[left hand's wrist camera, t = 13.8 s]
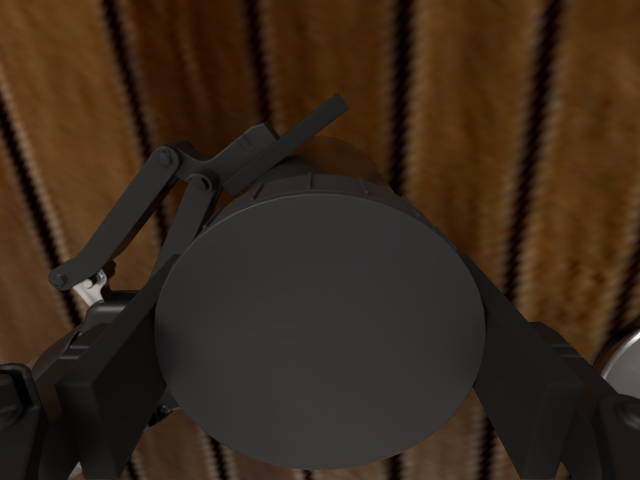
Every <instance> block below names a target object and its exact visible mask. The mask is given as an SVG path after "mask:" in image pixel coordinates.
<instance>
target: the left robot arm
mask: <svg viewBox="0 0 640 480" xmlns="http://www.w3.org/2000/svg"><path fill="white" fill-rule="evenodd" d="M180 255H181V254H173V255H172V256H171V257H170V258H169V260H168V261H167V262H166V263H165V264H164V265H163V266H162V267H161V268H160V269H159V270H158V272H157V273H156V274H155V275H154V276H153V277H152V278H151V279H150V280H149V281H148V283H147V284H146V285H145V286H144V287H143V288H142V289H141V290H140V291H139V292H138V293H137V295H136V296H135V297H134V298H133V299H132V300H131V301H130V302H129V303H128V304H127V305H126V307H125V308H124V309H123V310H122V311H121V312H120V313H119V314H118V315H117V316H116V317H115V319H114V320H113V321H112V322H111V323H99V324H98V325H96V326H94V327H93V328H91V329H89V330H88V331H86V332H84V333H83V334H81V335H80V336H79V337H78V339H77V340H76V341H75V342H74V343H73V344H72V345H71V346H70V348H69V349H67V350H66V351H65V352H64V353H63V354H62V355H61V356H60V358H59V359H57V360H56V361H55V362H54V363H53V364H52V365H51V366H50V367H49V368H48V369H47V370H46V371H45V372H44V373H43V374H42V375H41V376H40V377H39V378H38V379H37V380H36V381H35V382H34V379H33V376H32V373H31V370H30V368H29V367H27V366H26V365H24V364H19V363H8V364H2V365H0V480H69V479H68V478H69V476H70V475H71V473H72V472H73V470H74V469H75V467H76V465H77V464H78V462H80V465H81V468H82V471H83V474H84V477H85V479H119V477H120V476H121V474H122V472H123V470H124V468H125V466H126V464H127V462H128V460H129V458H130V456H131V454H132V453H133V451H134V449H135V447H136V445H137V443H138V441H139V439H140V437H141V435H142V433H143V432H144V430H145V428H146V426H147V424H148V422H149V420H150V418H151V416H152V414H153V412H154V410H155V409H156V407H157V405H158V403H159V401H160V399H161V397H162V395H163V393H164V391H165V389H166V387H167V385H166V383H165V381H164V379H163V376H162V374H161V371H160V367H159V363H158V358H157V353H156V348H155V342H154V319H155V311H156V305H157V302H158V299H159V295H160V292H161V289H162V287H163V285H164V283H165V280H166V278H167V276H168V274H169V272H170V270H171V269H172V264H173V263H174V262H175V261H176V259H177V258H178V257H179V256H180ZM458 255H459V256H460V258H461V259H462V261H463V262H464V264H465V265H466V267H467V268H468V270H469V271H470V273H471V275H472V277H473V279H474V281H475V283H476V286H477V288H478V290H479V293H480V297H481V300H482V304H483V307H484V314H485V322H486V339H485V346H484V351H483V356H482V361H481V366H480V370H479V373H478V375H477V378H476V381H475V382H474V384H473V388H474V390H475V392H476V394H477V396H478V398H479V400H480V402H481V404H482V405H483V407H484V409H485V411H486V413H487V415H488V417H489V419H490V421H491V423H492V425H493V426H494V428H495V430H496V432H497V434H498V436H499V438H500V440H501V442H502V444H503V446H504V448H505V449H506V451H507V453H508V455H509V457H510V459H511V461H512V463H513V465H514V467H515V469H516V471H517V472H518V474H519V476H520V478H521V479H555V476H556V473H557V470H558V467H559V464H560V461H562V463H563V464H564V466H565V467H566V469H567V470H568V472H569V473H570V475H571V476H572V479H571V480H640V317H639V318H637V319H636V320H634V321H633V322H631V323H630V324H629V325H627V326H626V327H625V328H624V329H623V330H621V331H620V332H619V333H618V334H617V335H616V336H615V337H614V338H613V339H612V340H611V341H610V342H609V343H608V344H607V346H606V347H605V348H604V349H603V351H602V352H601V354H600V355H599V357H598V358H597V360H596V362H595V364H594V366H593V367H592V366H591V365H590V364H589V363H588V362H587V361H586V360H585V359H584V358H581V357H580V354H579V353H578V352H577V351H576V350H575V349H574V348H573V347H570V344H569V343H568V342H567V341H566V340H565V339H564V338H563V337H562V336H561V335H560V334H559V333H558V332H556V331H554V330H553V329H551V328H549V327H548V326H546V325H544V324H543V323H541V322H528V321H527V320H526V319H525V318H524V317H523V316H522V315H521V314H520V312H519V311H518V310H517V309H516V308H515V307H514V306H513V305H512V304H511V303H510V302H509V300H508V299H507V298H506V297H505V296H504V295H503V294H502V293H501V292H500V291H499V290H498V288H497V287H496V286H495V285H494V284H493V283H492V282H491V281H490V280H489V279H488V277H487V276H486V275H485V274H484V273H483V272H482V271H481V270H480V269H479V268H478V267H477V265H476V264H475V263H474V262H473V261H472V260H471V259H470V258H469V257H468V256H467V255H466V254H458Z"/></svg>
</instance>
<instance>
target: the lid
mask: <svg viewBox="0 0 640 480" xmlns="http://www.w3.org/2000/svg"><path fill="white" fill-rule="evenodd" d="M457 251H458V249H457V248H456V247H455V246H454V245H453V243H452V242H451V241H450V240H449V239H448V238H447V237H446V236H445V234H444V233H443V232H442V231H441V230H440V229H439V228H438V227H436V228H435V227H434V226H433V225H432V224H431V223H430V222H429V221H428V219H427V218H426V217H425V216H424V215H423V214H422V213H421V212H420V211H419V210H417V209H416V208H415V207H414V206H413V205H412V204H411V203H410V201H409V200H408V199H407V198H406V197H405V196H403V197H402V198H401V197H400V196H398V195H396V194H395V193H393V192H391V191H390V190H387V189H385V188H383V187H380V186H378V185H376V184H373V183H371V182H367V181H364V180H363V179H362V177H358V179H356V178H353V177H347V176H339V175H332V174H312V172H308V175H301V176H293V177H287V178H284V179H280V180H276V181H272V182H269V183H267V184H263V183H260V184H259V185H258V187H257V188H254V189H252V190H250V191H249V192H247V193H245V194H243V195H242V196H240V197H238V198H237V199H235V200H234V201H232V202H231V203H230V204H228V205H227V206H226V207H225V208H222V207H220V208H219V209H218V210H217V211H216V213H215V214H214V215H213V216H212V217H211V218H210V219H209V220H208V222H207V223H206V224H205V225H204V226H203V230H202V231H201V232H200V234H199V235H198V236H197V237H196V238H195V239H194V240H193V241H192V242H191V243H190V244H189V246H188V247H187V248H186V249H185V250H184V251H183V253H182V254H181V255H180V256H179V257H178V258H177V259H176V261H175V262H174V263H173V264H172V269H171V270H170V272H169V274H168V276H167V278H166V280H165V283H164V285H163V287H162V289H161V292H160V295H159V299H158V302H157V305H156V311H155V319H154V342H155V348H156V353H157V358H158V363H159V367H160V371H161V374H162V376H163V379H164V381H165V383H166V385H167V387H168V389H169V391H170V393H171V394H172V396H173V397H174V399H175V400H176V402H177V403H178V404H179V406H180V407H181V409H182V410H183V411H184V412H185V413H186V414H187V415H188V416H189V417H190V419H191V420H192V421H193V422H194V423H195V424H196V425H198V426H199V427H200V428H201V429H202V430H204V431H205V432H206V433H207V434H208V435H210V436H211V437H213V438H214V439H216V440H217V441H219V442H220V443H222V444H223V445H225V446H227V447H229V448H231V449H233V450H235V451H237V452H238V453H241V454H243V455H246V456H248V457H251V458H253V459H256V460H259V461H262V462H266V463H269V464H273V465H278V466H283V467H288V468H295V469H305V470H334V469H345V468H352V467H357V466H362V465H367V464H370V463H374V462H377V461H381V460H384V459H386V458H389V457H391V456H394V455H397V454H399V453H401V452H403V451H405V450H407V449H409V448H411V447H413V446H415V445H416V444H418V443H419V442H421V441H422V440H424V439H425V438H427V437H428V436H430V435H431V434H433V433H434V432H435V431H436V430H437V429H439V428H440V427H441V426H442V425H443V424H444V423H445V422H446V421H447V420H448V419H449V418H450V417H451V416H452V415H453V414H454V413H455V412H456V411H457V409H458V408H459V407H460V405H461V404H462V403H463V401H464V400H465V398H466V397H467V396H468V394H469V392H470V390H471V388H472V386H473V384H474V382H475V381H476V378H477V375H478V373H479V370H480V366H481V361H482V356H483V351H484V346H485V339H486V322H485V314H484V307H483V304H482V300H481V297H480V293H479V290H478V288H477V286H476V283H475V281H474V279H473V277H472V275H471V273H470V271H469V270H468V268H467V267H466V265H465V264H464V262H463V261H462V259H461V258H460V256H459V255H458V254H457V253H456V252H457Z"/></svg>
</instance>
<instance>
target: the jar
mask: <svg viewBox="0 0 640 480" xmlns="http://www.w3.org/2000/svg"><path fill="white" fill-rule="evenodd" d="M308 172H312V174H332V175H339V176H347V177H353V178H356V179H358V177H362V179H363V180H364V181H367V182H371V183H373V184H376V185H378V186H380V187H383V188H385V189H387V190H390V191H391V192H393V190H392V189H391V188H390V186H389V185H388V184H387V183H386V181H385V180H384V179H383V177H382V176H381V175H380V173H379V172H378V171H377V169H376V168H375V167H374V165H373V164H372V163H371V161H370V160H369V159H368V158H367V157H366V156H365V155H364V154H363V153H362V152H361V151H360V150H358V149H357V148H355V147H354V146H353V145H351V144H349V143H347V142H344V141H341V140H338V139H335V138H330V137H311V138H310V139H309V140H307V141H306V142H305V143H303V144H302V145H301V146H300V147H298V148H297V149H296V150H294V151H293V152H292V153H290V154H289V155H288V156H287V157H285V158H284V159H283V160H281V161H280V162H279V163H277V164H276V165H275V166H274V167H272V168H271V169H270V170H268V171H267V172H266V173H265V174H263V175H262V176H261V177H259V178H258V179H257V180H255V181H254V183H253V184H252V185H251V186H250V188H249V189H248V190H247V192H249V191H250V190H252V189H254V188H257V187H258V185H259V184H260V183H263V184H267V183H269V182H272V181H276V180H280V179H284V178H287V177H293V176H301V175H308ZM247 192H246V193H247ZM393 193H394V192H393Z"/></svg>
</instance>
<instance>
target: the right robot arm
mask: <svg viewBox="0 0 640 480" xmlns="http://www.w3.org/2000/svg"><path fill="white" fill-rule="evenodd" d="M348 109H349V108H348V107H347V105H346V104H345V102H344V101H343V99H342V98H341V96H340V95H339V93H336V94H335V95H333V96H332V97H331V98H330V99H328V100H327V101H326V102H324V103H323V104H322V105H321V106H319V107H318V108H317V109H316V110H314V111H313V112H312V113H310V114H309V115H308V116H307V117H305V118H304V119H303V120H302V121H300V122H299V123H298V124H297V125H295V126H294V127H293V128H291V129H290V130H289V131H288V132H286V133H285V134H284V135H283V136H281V137H279V135H278V134H277V133H276V132H275V130H274V129H273V128H272V126H271V125H270V124H269V122H268V121H267V122H263V123H259V124H256V125H254V126H252V127H251V128H250V129H248V130H247V131H246V132H245V133H243V134H242V135H241V136H240V137H239V138H237V139H236V140H235V141H234V142H232V143H231V144H230V145H229V146H227V147H226V148H225V149H224V150H223V151H221V152H220V153H219V154H218V155H216V156H206V155H204V154H202V153H200V152H199V151H197V150H196V149H194V147H193V146H192V144H191V143H189V142H188V141H184V140H180V141H176V142H173V143H170V144H167V145H164V146H161V147H158V148H157V149H155V150H154V151H153V153H152V154H151V156H150V157H149V158H148V160H147V161H146V163H145V164H144V165H143V167H142V168H141V170H140V171H139V172H138V174H137V175H136V176H135V178H134V179H133V181H132V182H131V183H130V185H129V186H128V188H127V189H126V190H125V192H124V193H123V194H122V196H121V197H120V199H119V200H118V201H117V203H116V204H115V206H114V207H113V208H112V210H111V211H110V212H109V214H108V215H107V217H106V218H105V219H104V221H103V222H102V224H101V225H100V226H99V228H98V229H97V231H96V232H95V233H94V235H93V236H92V237H91V239H90V240H89V242H88V243H87V244H86V246H85V247H84V249H83V250H82V251H81V252H80V253H78V254H77V255H75V256H74V257H72V258H71V259H69V260H68V261H66V262H65V263H63V264H62V265H60V266H59V267H57V268H55V269H54V270H52V271H51V272H50V273H49V276H48V278H49V282H50V283H51V285H52V286H53V287H55V288H56V289H59V290H68V289H70V288H72V287H73V289H74V290H75V291H76V292H77V293H78V294H79V295H80V297H81V298H82V299H83V300H84V301H85V302H86V303H87V305H88V306H89V309H88V310H87V313H86V316H85V320H84V322H82V323H81V324H80V325H78V326H77V327H76V328H74V329H73V330H72V331H70V332H69V333H68V334H66V335H65V336H64V337H63V338H61V339H60V340H59V341H57V342H56V343H55V344H53V345H52V346H51V347H49V348H48V349H47V350H46V351H45V352H44V353H43V354H41V355H39V356H38V357H36V358H35V359H34V360H32V361H31V362H30V363H28V364H27V365H26V366H27V367H29V368H30V370H31V373H32V376H33V379H34V382H35V381H36V380H37V379H38V378H39V377H40V376H41V375H42V374H43V373H44V372H45V371H46V370H47V369H48V368H49V367H50V366H51V365H52V364H53V363H54V362H55V361H56V360H57V359H59V358H60V356H61V355H62V354H63V353H64V352H65V351H66V350H67V349H69V348H70V346H71V345H72V344H73V343H74V342H75V341H76V340H77V339H78V337H79V336H80V335H81V334H83V333H84V332H86V331H88V330H89V329H91V328H93V327H94V326H96V325H98V324H99V323H111V322H112V321H113V320H114V319H115V317H116V316H117V315H118V314H119V313H120V312H121V311H122V310H123V309H124V308H125V307H126V305H127V304H128V303H129V302H130V301H131V300H132V299H133V298H134V297H135V296H136V295H137V293H138V292H139V291H140V290H115V291H112V290H111V289H110V286H109V282H110V280H111V279H112V278H113V277H114V275H115V267H116V263H115V262H114V261H113V259H114V258H116V257H117V256H118V255H119V254H121V253H122V252H123V251H124V250H125V249H126V247H127V246H128V245H129V244H130V242H131V241H132V240H133V239H134V237H135V236H136V235H137V233H138V232H139V231H140V229H141V228H142V227H143V225H144V224H145V223H146V222H147V220H148V219H149V218H150V216H151V215H152V214H153V212H154V211H155V210H156V209H157V207H158V206H159V205H160V203H161V202H162V201H163V199H164V198H165V197H166V195H167V194H168V193H169V192H170V190H171V189H172V188H173V186H174V185H175V184H176V182H177V181H178V180H179V178H180V179H181V180H183V181H185V182H186V183H188V186H187V188H186V191H185V193H184V196H183V198H182V201H181V203H180V205H179V208H178V210H177V213H176V215H175V218H174V220H173V222H172V225H171V227H170V230H169V232H168V235H167V237H166V239H165V242H164V244H163V247H162V249H161V252H160V254H159V256H158V259H157V261H156V264H155V266H154V269H153V271H152V273H151V276H150V278H149V280H150V279H151V278H152V277H153V276H154V275H155V274H156V273H157V272H158V270H159V269H160V268H161V267H162V266H163V265H164V264H165V263H166V262H167V261H168V260H169V258H170V257H171V256H172V255H173V254H182V253H183V251H184V250H185V249H186V248H187V247H188V246H189V244H190V243H191V242H192V241H193V240H194V239H195V238H196V237H197V236H198V235H199V234H200V232H201V231H202V230H203V226H204V225H205V224H206V223H207V222H208V220H209V219H210V217H211V215H212V212H213V210H214V208H215V206H216V204H217V201H218V199H219V197H220V195H221V192H222V190H223V188H225V189H226V190H227V192H228V193H229V194H230V195H231V196H232V197H235V196H236V195H237V194H239V193H240V192H241V191H242V190H244V189H245V188H246V187H248V186H249V185H250V184H252V183H253V182H254V181H255V180H257V179H258V178H259V177H261V176H262V175H263V174H265V173H266V172H267V171H268V170H270V169H271V168H272V167H274V166H275V165H276V164H277V163H279V162H280V161H281V160H283V159H284V158H285V157H287V156H288V155H289V154H290V153H292V152H293V151H294V150H296V149H297V148H298V147H300V146H301V145H302V144H303V143H305V142H306V141H307V140H309V139H310V138H311V137H313V136H314V135H315V134H316V133H318V132H319V131H320V130H322V129H323V128H324V127H326V126H327V125H328V124H329V123H331V122H332V121H333V120H335V119H336V118H337V117H339V116H340V115H341V114H342V113H344V112H345V111H346V110H348ZM178 409H181V407H180V406H179V404H178V403H177V402H176V400H175V399H174V397H173V396H172V394H171V393H170V391H169V389H168V387H166V389H165V391H164V393H163V395H162V397H161V399H160V401H159V403H158V405H157V407H156V409H155V410H154V412H153V414H152V416H151V418H150V420H149V422H148V424H147V426H146V428H145V430H144V432H143V433H142V434H144V433H145V432H147V431H148V430H150V429H151V428H153V427H154V426H156V425H157V424H158V423H160V422H161V421H162V420H163V419H165V418H166V417H167V416H168V415H169V414H171V413H172V412H173V411H175V410H178ZM81 472H83V471H82V468H81V465H80V462H78V464H77V465H76V467H75V469H74V470H73V472H72V473H71V475H70V476H69V478H68V479H69V480H70V479H72V478H73V477H75V476H77V475H78V474H80V473H81Z"/></svg>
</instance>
